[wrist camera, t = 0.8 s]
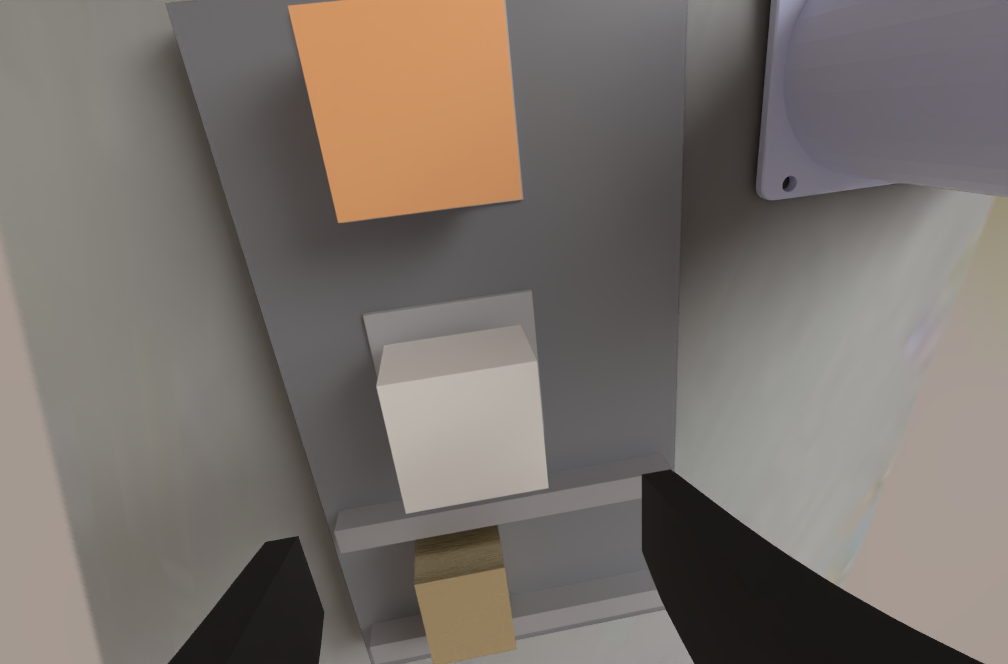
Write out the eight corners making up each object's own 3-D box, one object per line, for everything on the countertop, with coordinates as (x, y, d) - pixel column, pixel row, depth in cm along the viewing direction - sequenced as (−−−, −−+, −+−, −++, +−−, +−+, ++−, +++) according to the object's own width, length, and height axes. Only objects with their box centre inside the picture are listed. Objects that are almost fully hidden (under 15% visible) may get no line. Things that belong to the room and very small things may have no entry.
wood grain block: (495, 516, 19) (504, 567, 17) (507, 593, 21) (516, 649, 19) (415, 531, 19) (414, 584, 17) (432, 607, 21) (433, 666, 18)
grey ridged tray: (657, -26, 15) (708, -58, 12) (652, 571, 25) (680, 628, 22) (199, 17, 14) (143, -7, 11) (377, 626, 24) (370, 693, 21)
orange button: (488, 10, 12) (502, -16, 10) (506, 185, 14) (522, 198, 11) (314, 27, 12) (287, 5, 10) (353, 205, 13) (338, 222, 11)
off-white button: (520, 324, 15) (537, 360, 13) (532, 437, 17) (548, 488, 15) (384, 345, 15) (376, 386, 13) (408, 458, 16) (405, 514, 14)
